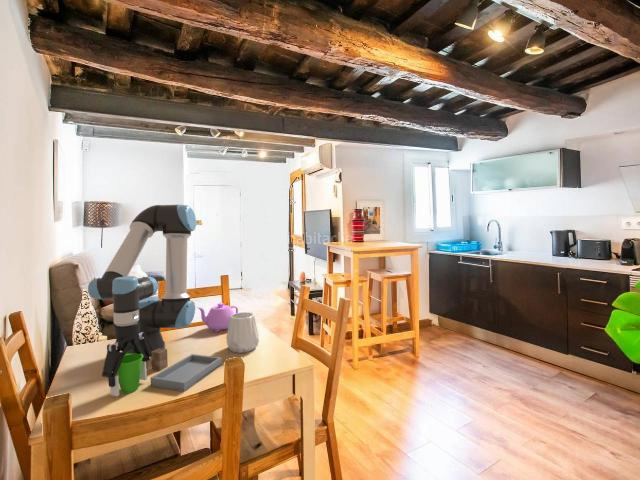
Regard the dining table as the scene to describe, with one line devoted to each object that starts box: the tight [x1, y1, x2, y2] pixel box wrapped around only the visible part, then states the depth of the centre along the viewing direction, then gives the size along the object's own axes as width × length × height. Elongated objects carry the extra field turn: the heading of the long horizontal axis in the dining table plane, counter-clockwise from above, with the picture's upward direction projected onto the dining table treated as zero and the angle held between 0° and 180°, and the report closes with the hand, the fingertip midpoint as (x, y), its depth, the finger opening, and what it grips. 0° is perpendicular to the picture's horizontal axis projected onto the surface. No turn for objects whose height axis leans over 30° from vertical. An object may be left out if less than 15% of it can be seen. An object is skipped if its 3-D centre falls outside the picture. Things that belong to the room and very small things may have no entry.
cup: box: [116, 353, 144, 394], centre depth 115 cm, size 9×9×11 cm
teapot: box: [197, 302, 239, 334], centre depth 180 cm, size 22×16×14 cm
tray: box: [150, 353, 223, 392], centre depth 126 cm, size 14×22×3 cm, turn 163°
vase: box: [226, 312, 260, 354], centre depth 152 cm, size 14×14×15 cm
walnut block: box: [150, 348, 169, 372], centre depth 133 cm, size 4×4×7 cm
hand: (129, 386), depth 116 cm, fingers open, 11 cm apart
